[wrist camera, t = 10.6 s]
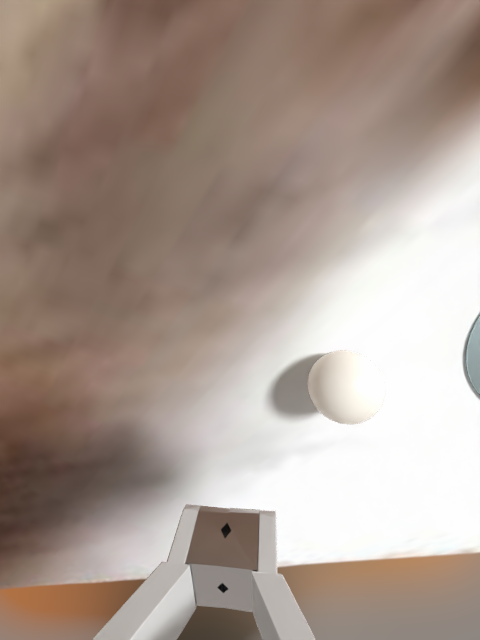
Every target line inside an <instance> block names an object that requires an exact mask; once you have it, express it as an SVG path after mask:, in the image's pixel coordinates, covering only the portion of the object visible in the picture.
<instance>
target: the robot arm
mask: <svg viewBox="0 0 480 640" xmlns="http://www.w3.org/2000/svg"><path fill="white" fill-rule="evenodd" d="M196 605H197V606H209V607H220V608H229V609H235V610H242V611H248V612H253V613H254V617H255V620H256V623H257V626H258V629H259V632H260V634H261V638H262V640H316V639H315V637H314V636H313V634H312V632H311V630H310V628H309V626H308V624H307V622H306V620H305V618H304V616H303V614H302V612H301V610H300V608H299V606H298V604H297V602H296V600H295V598H294V596H293V594H292V592H291V590H290V588H289V586H288V584H287V583H286V581H285V579H284V577H283V575H282V574H278V573H277V538H276V512H275V511H260V510H255V509H237V508H230V509H229V508H218V507H208V506H199V505H186V506H185V508H184V509H183V512H182V515H181V518H180V521H179V525H178V528H177V531H176V534H175V537H174V540H173V544H172V547H171V550H170V553H169V556H168V560H167V562H161V564H160V565H159V566H158V567H157V568H156V569H155V570H154V571H153V572H152V574H151V575H150V576H149V577H148V578H147V579H146V580H145V582H144V583H143V584H142V585H141V586H140V587H139V588H138V589H137V590H136V592H135V593H134V594H133V595H132V596H131V597H130V598H129V599H128V600H127V602H126V603H125V604H124V605H123V606H122V607H121V608H120V609H119V610H118V612H117V613H116V614H115V615H114V616H113V617H112V618H111V619H110V621H109V622H108V623H107V624H106V625H105V626H104V627H103V629H101V631H100V632H99V633H98V634H97V635H96V636H95V637H94V638H93V640H177V638H178V637H179V635H180V633H181V632H182V630H183V629H184V627H185V625H186V624H187V622H188V621H189V619H190V617H191V616H192V614H193V612H194V611H195V609H196Z"/></svg>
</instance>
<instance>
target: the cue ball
mask: <svg viewBox="0 0 480 640" xmlns="http://www.w3.org/2000/svg"><path fill="white" fill-rule="evenodd" d="M308 391H309V395H310V398H311V400H312V402H313V404H314V405H315V407H316V408H317V409H318V410H319V412H321V413H322V414H323V415H324V416H325V417H327V418H328V419H330V420H332V421H335V422H338V423H341V424H358V423H362V422H364V421H366V420H368V419H370V418H371V417H373V416H374V415H375V414H376V413H377V412H378V410H379V409H380V407H381V406H382V403H383V400H384V396H385V386H384V381H383V378H382V375H381V373H380V372H379V370H378V368H377V367H376V366H375V365H374V364H373V363H372V362H371V361H370V360H369V359H368V358H366V357H365V356H363V355H361V354H358V353H356V352H352V351H346V350H340V351H334V352H330V353H328V354H326V355H324V356H322V357H321V358H320V359H318V360H317V362H316V363H315V364H314V365H313V367H312V368H311V371H310V373H309V377H308Z"/></svg>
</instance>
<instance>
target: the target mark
mask: <svg viewBox="0 0 480 640" xmlns="http://www.w3.org/2000/svg"><path fill="white" fill-rule="evenodd" d="M466 365H467V372H468V375H469V378H470V381H471V383H472V384H473V386H474V388H475V389H476V391H477V392H478V393H479V394H480V316H479V318H478V319H477V321H476V323H475V325H474V327H473V329H472V332H471V335H470V338H469V341H468V345H467V351H466Z"/></svg>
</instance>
